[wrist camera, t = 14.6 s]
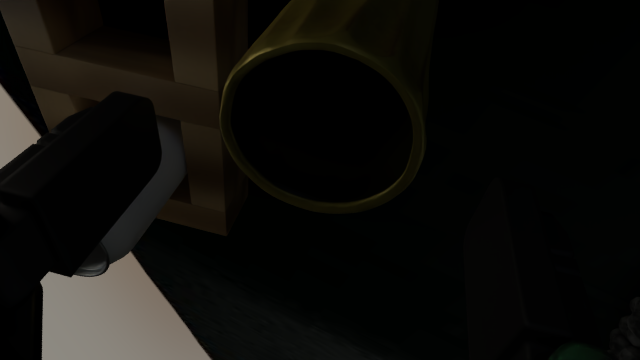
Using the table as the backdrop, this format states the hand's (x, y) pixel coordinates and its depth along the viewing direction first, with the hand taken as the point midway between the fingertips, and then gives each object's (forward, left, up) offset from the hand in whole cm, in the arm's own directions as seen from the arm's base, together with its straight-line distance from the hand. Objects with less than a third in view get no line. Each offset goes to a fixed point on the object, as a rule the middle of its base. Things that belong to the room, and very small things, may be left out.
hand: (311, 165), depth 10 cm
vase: (0, 0, -15) cm, 15 cm away
